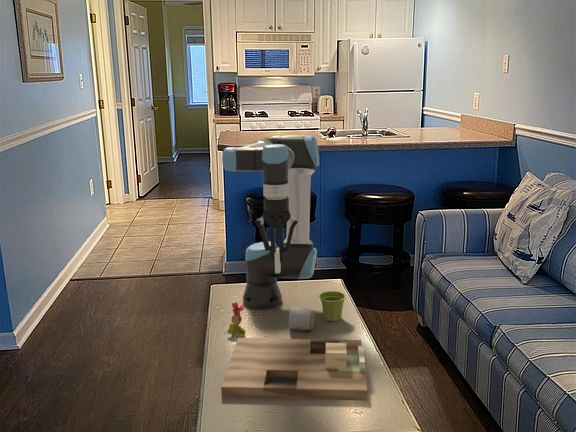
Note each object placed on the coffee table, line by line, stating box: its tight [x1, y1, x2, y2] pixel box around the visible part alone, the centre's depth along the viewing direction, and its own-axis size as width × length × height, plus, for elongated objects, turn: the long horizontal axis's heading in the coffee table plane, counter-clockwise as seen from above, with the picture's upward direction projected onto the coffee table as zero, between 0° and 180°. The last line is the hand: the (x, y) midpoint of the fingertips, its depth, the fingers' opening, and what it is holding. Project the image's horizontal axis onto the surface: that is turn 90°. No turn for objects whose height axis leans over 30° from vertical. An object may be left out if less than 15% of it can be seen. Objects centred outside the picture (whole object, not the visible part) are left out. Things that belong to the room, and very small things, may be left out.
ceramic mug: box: [288, 306, 316, 332], centre depth 192 cm, size 11×8×8 cm
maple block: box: [326, 343, 347, 369], centre depth 162 cm, size 6×6×5 cm
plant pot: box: [318, 290, 347, 322], centre depth 199 cm, size 9×9×9 cm
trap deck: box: [220, 337, 368, 401], centre depth 164 cm, size 29×40×6 cm
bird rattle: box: [226, 301, 246, 336], centre depth 190 cm, size 6×11×9 cm
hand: (277, 271), depth 171 cm, fingers closed
